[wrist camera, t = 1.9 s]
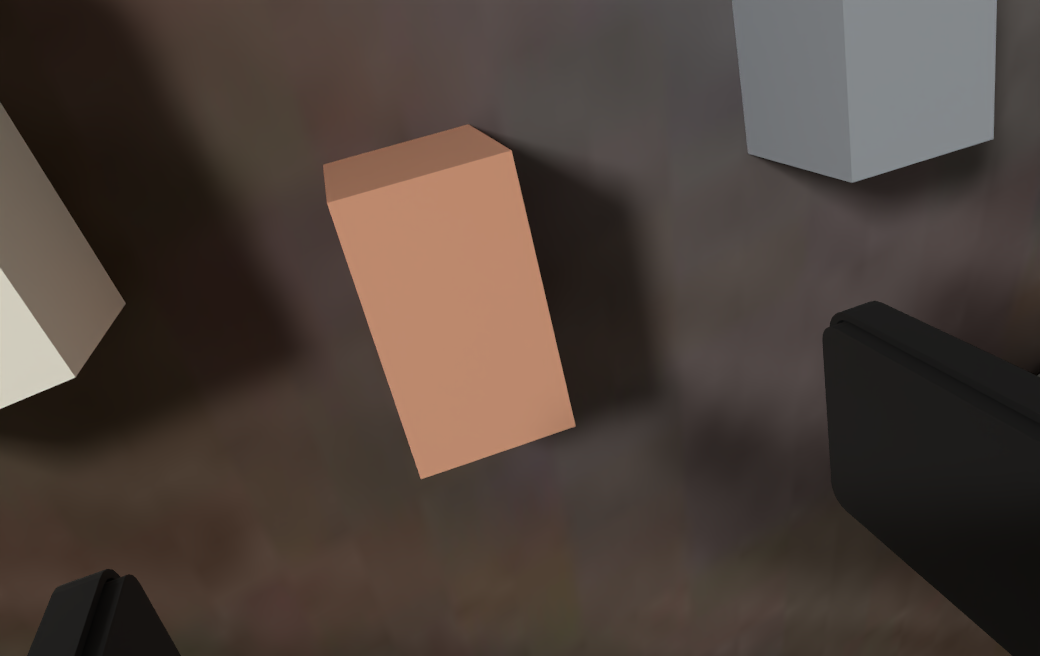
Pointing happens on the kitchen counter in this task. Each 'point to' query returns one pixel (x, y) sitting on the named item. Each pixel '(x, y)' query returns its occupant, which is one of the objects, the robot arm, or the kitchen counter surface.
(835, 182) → the kitchen counter surface
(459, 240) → the terracotta brick
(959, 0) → the slate brick
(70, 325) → the cream brick
